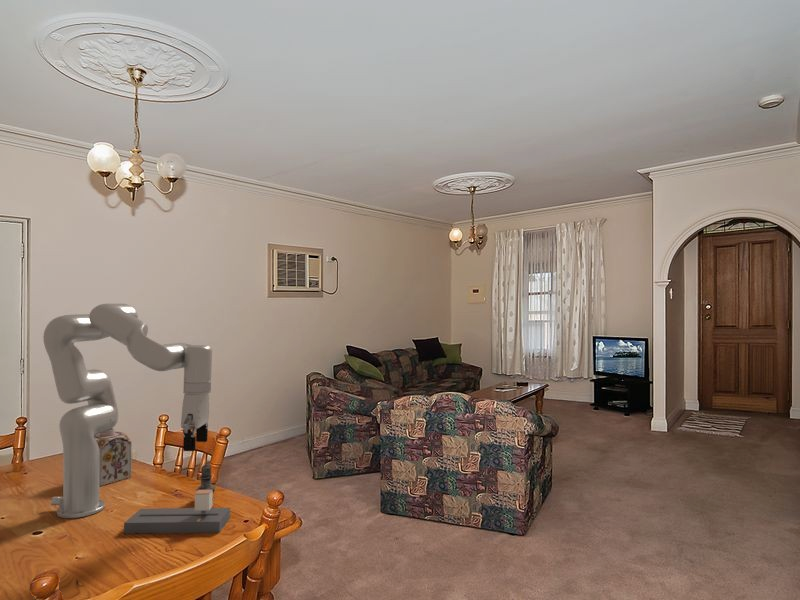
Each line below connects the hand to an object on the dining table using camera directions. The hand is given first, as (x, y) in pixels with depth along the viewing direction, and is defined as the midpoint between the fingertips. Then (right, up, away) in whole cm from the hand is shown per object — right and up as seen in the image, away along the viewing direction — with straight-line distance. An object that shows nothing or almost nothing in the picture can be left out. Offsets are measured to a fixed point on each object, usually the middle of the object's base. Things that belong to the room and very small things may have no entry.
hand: (195, 446), depth 153 cm
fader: (+4, -18, -3) cm, 19 cm away
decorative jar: (-46, -22, +36) cm, 62 cm away
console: (-3, -22, -4) cm, 22 cm away
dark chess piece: (-3, -22, +16) cm, 28 cm away
